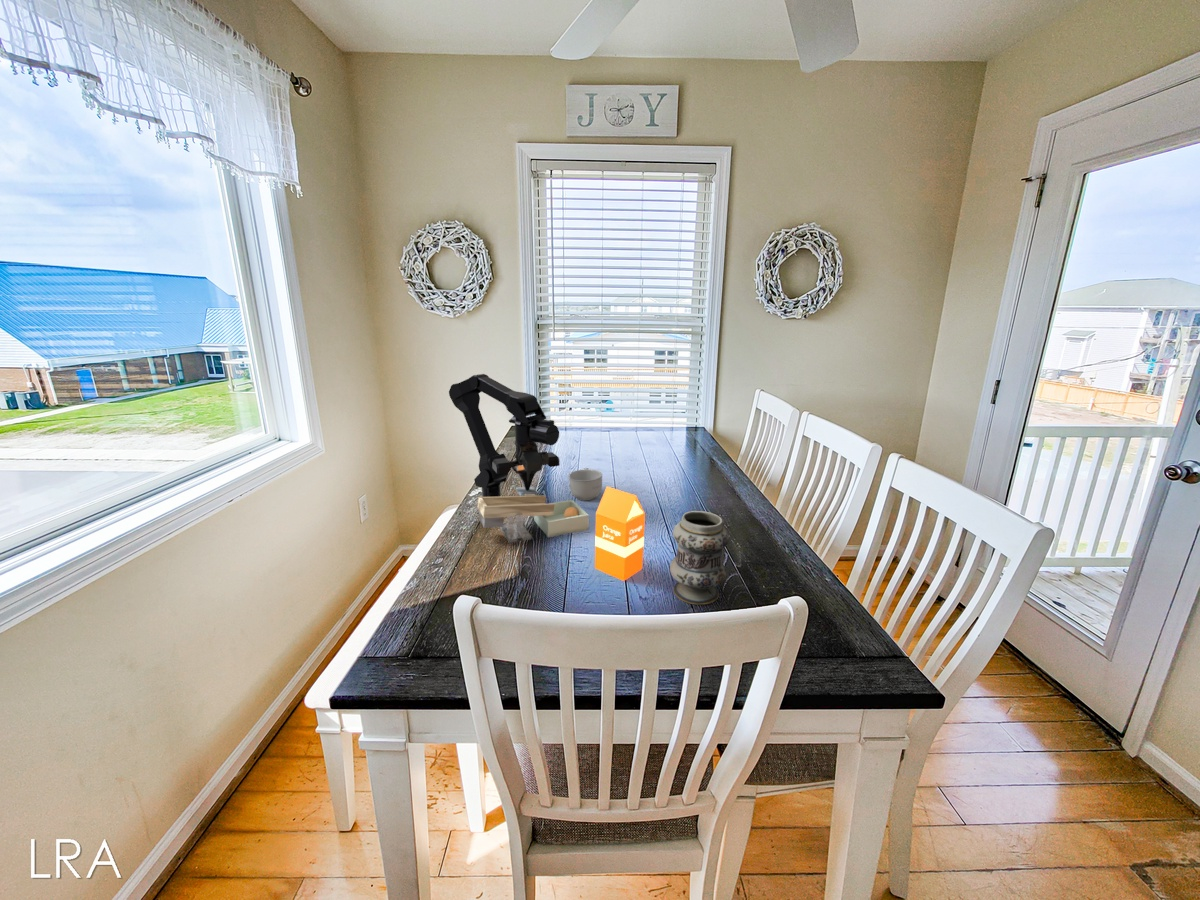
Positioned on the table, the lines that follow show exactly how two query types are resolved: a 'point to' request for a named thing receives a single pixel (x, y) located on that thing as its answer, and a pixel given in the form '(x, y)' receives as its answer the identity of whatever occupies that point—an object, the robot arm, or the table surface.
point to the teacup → (585, 484)
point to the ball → (570, 512)
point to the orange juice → (619, 534)
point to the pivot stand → (515, 529)
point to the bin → (563, 520)
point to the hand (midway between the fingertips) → (527, 490)
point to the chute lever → (512, 507)
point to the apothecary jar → (699, 557)
